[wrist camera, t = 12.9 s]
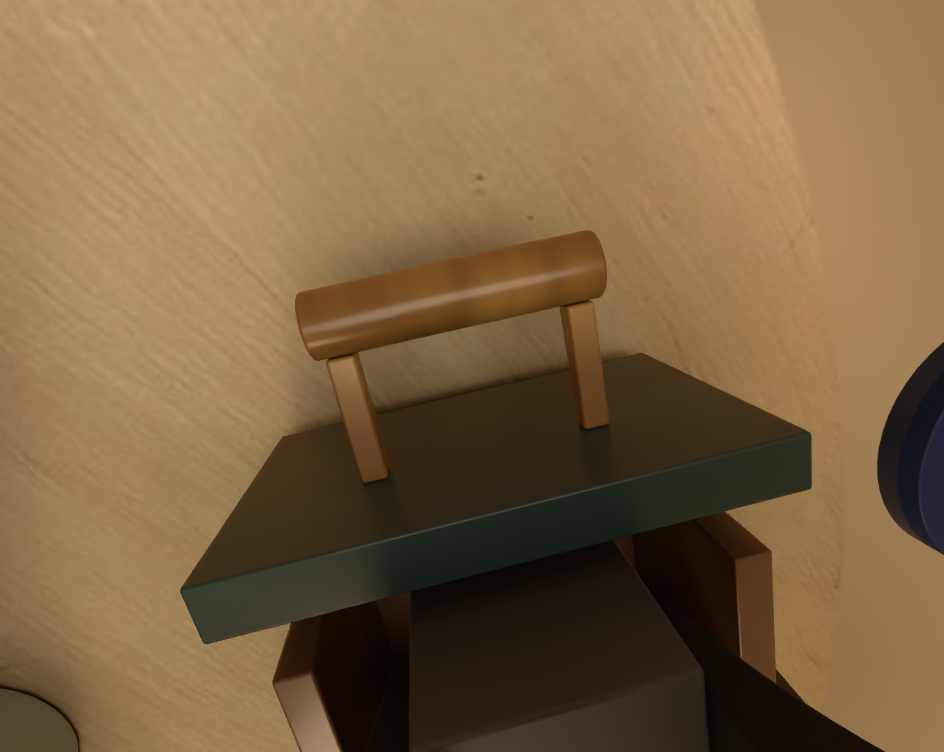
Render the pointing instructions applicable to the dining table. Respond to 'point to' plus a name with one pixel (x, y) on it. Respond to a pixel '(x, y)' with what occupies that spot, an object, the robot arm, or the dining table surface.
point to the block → (552, 662)
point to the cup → (32, 725)
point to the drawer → (487, 485)
